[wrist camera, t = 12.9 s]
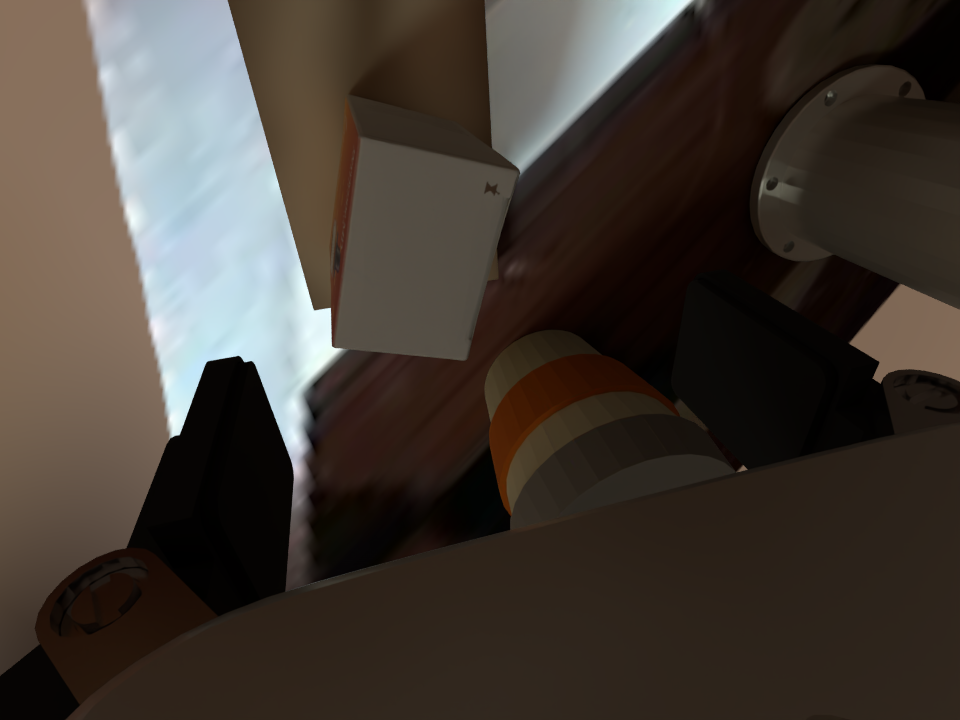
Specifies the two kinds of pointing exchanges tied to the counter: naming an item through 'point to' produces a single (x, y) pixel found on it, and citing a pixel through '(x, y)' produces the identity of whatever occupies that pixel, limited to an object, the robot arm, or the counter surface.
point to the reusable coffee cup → (584, 431)
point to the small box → (413, 231)
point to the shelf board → (353, 90)
